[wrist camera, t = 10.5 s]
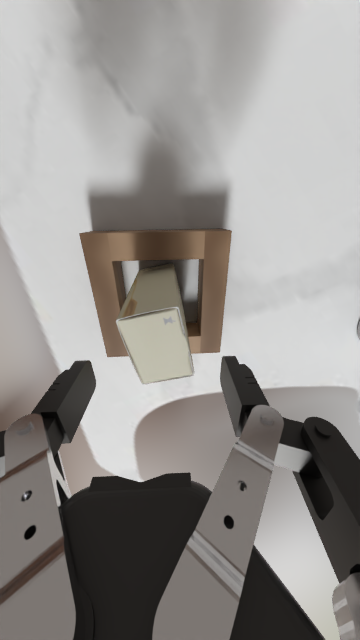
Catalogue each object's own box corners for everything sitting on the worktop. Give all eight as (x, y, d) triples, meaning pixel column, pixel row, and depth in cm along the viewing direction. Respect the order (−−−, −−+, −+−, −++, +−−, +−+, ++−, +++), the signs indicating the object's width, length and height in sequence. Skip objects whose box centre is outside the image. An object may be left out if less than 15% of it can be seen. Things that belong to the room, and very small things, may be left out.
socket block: (222, 228, 22) (231, 230, 19) (214, 337, 28) (219, 352, 25) (92, 231, 21) (79, 233, 18) (114, 341, 28) (107, 357, 24)
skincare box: (137, 269, 23) (110, 315, 12) (173, 261, 23) (178, 301, 12) (152, 317, 26) (140, 388, 15) (184, 310, 26) (195, 377, 15)
